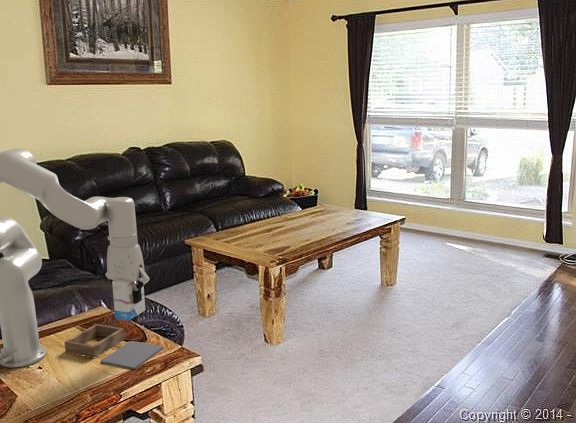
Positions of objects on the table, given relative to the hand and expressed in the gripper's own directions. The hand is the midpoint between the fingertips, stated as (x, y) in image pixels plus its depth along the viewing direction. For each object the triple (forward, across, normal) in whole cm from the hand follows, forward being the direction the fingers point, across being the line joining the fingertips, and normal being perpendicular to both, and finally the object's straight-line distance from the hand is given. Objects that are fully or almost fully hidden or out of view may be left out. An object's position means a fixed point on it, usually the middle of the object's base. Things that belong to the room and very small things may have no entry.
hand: (129, 300), depth 162 cm
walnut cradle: (+17, -15, +1) cm, 23 cm away
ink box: (+5, 0, 0) cm, 5 cm away
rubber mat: (+17, 0, 0) cm, 17 cm away
